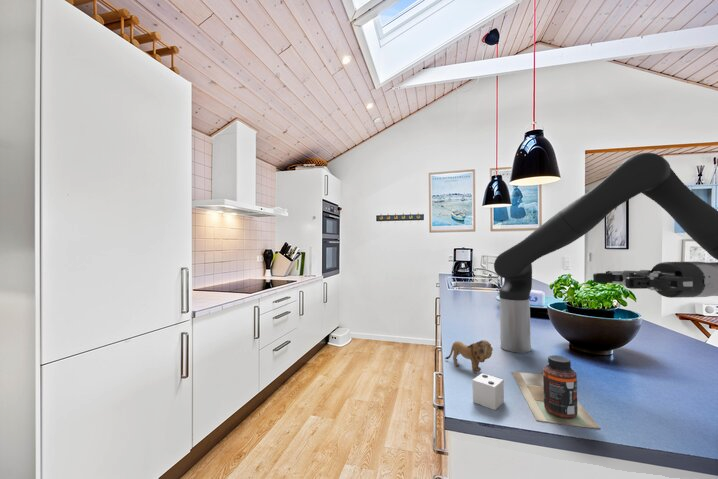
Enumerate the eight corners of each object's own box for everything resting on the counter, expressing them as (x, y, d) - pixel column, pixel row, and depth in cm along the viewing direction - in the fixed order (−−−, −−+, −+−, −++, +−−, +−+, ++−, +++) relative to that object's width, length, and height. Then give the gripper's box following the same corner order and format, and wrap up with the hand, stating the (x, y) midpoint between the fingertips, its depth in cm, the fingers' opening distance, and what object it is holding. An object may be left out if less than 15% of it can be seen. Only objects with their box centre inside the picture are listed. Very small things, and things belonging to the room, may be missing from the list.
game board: (556, 376, 81) (556, 375, 81) (600, 429, 58) (600, 427, 58) (511, 372, 84) (511, 371, 84) (536, 420, 61) (536, 419, 61)
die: (482, 394, 73) (481, 372, 73) (504, 401, 69) (503, 379, 69) (472, 401, 69) (472, 379, 69) (495, 410, 65) (494, 386, 66)
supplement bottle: (582, 422, 60) (580, 365, 60) (547, 417, 62) (546, 361, 62) (572, 407, 66) (571, 354, 66) (541, 402, 68) (539, 352, 68)
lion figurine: (496, 371, 85) (495, 339, 85) (488, 377, 81) (487, 344, 81) (449, 358, 96) (448, 329, 96) (440, 362, 92) (439, 333, 92)
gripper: (654, 259, 71) (584, 260, 71) (727, 263, 57) (639, 265, 57) (655, 291, 71) (585, 292, 71) (728, 303, 57) (640, 304, 57)
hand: (609, 280), depth 64 cm, fingers open, 8 cm apart
